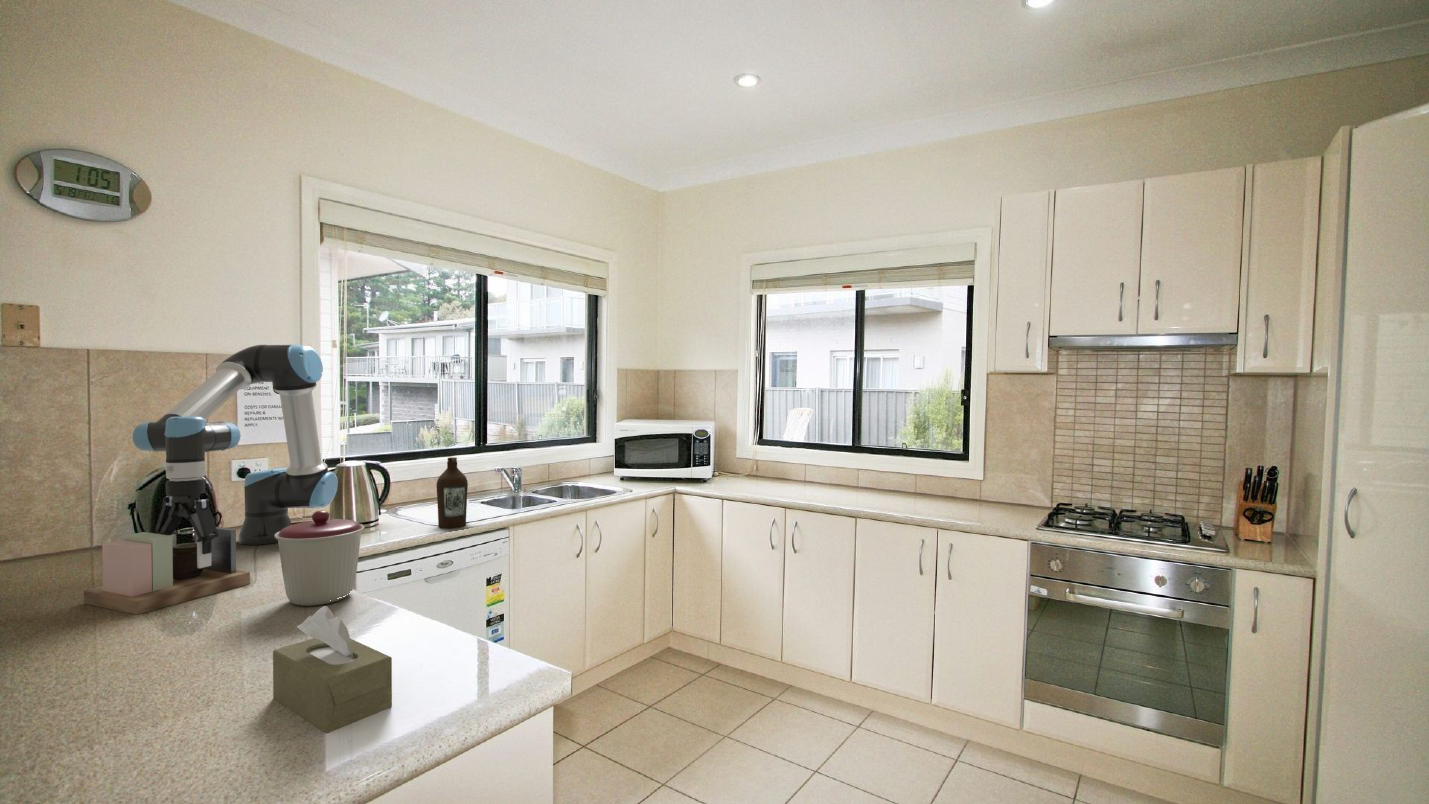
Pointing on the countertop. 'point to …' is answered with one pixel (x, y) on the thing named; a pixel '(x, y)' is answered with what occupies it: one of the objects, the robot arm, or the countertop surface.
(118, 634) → the countertop surface
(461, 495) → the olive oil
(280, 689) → the tissue box
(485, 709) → the countertop surface
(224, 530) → the bookend
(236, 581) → the wooden serving tray
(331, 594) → the canister
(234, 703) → the countertop surface
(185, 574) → the mate gourd
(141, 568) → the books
